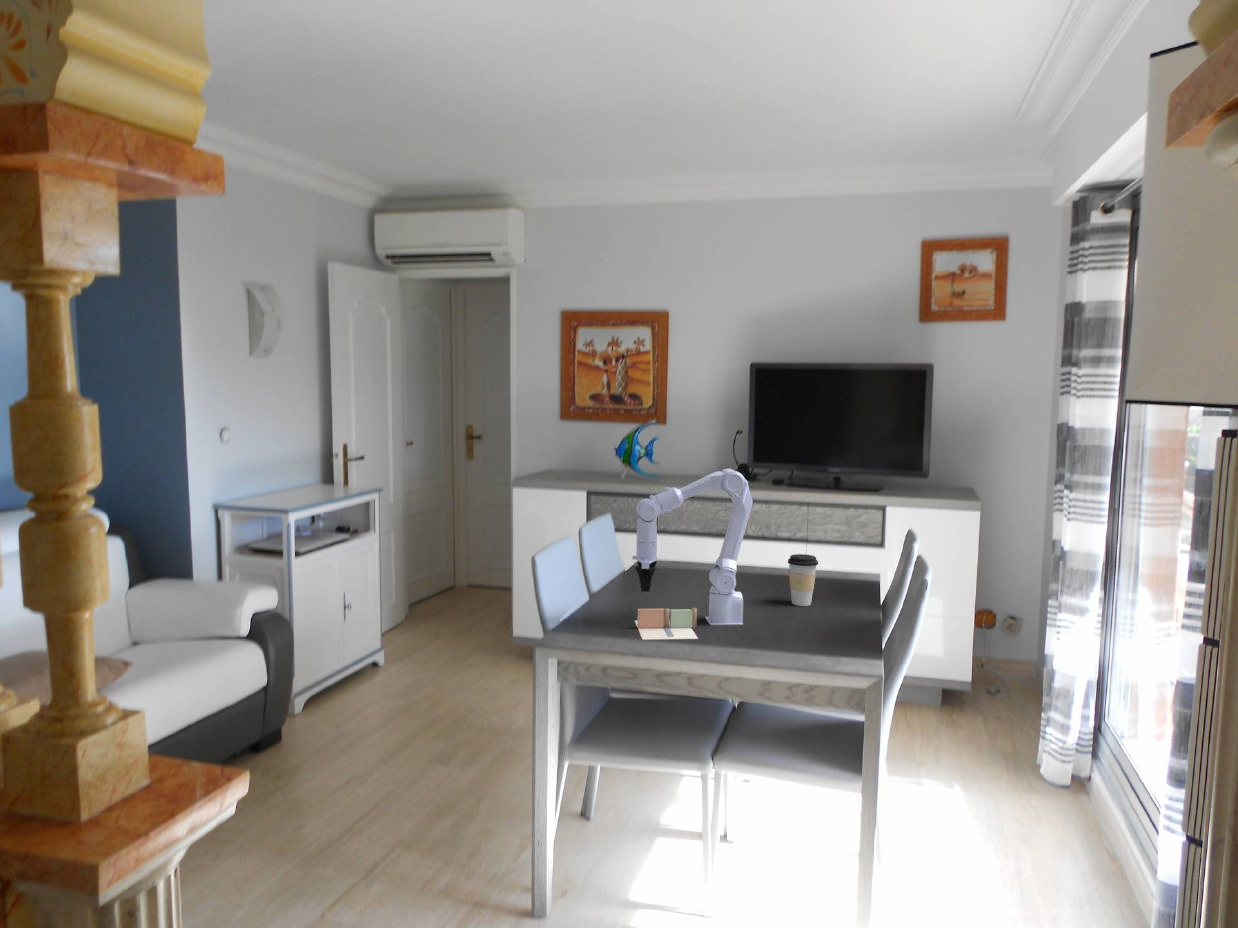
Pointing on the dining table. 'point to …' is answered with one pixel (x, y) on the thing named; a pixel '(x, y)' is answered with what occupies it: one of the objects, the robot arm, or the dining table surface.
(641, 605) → the dining table surface
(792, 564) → the coffee cup
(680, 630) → the card
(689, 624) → the fence fixed
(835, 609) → the dining table surface
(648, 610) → the fence panel
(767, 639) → the dining table surface
